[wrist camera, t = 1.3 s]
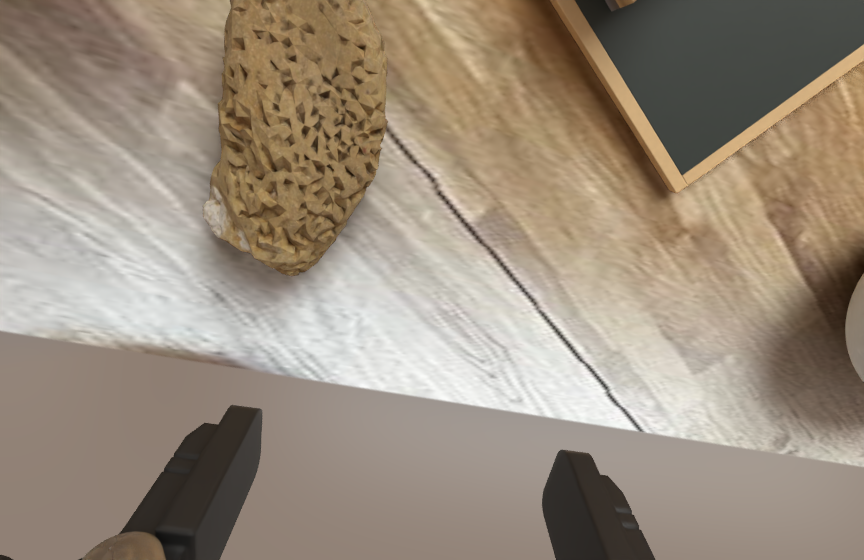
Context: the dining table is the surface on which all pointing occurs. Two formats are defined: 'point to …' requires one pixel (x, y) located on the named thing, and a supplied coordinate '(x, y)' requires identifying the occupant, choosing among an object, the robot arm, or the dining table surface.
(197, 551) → the robot arm
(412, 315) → the dining table surface
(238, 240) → the sponge
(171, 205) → the dining table surface
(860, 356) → the serving bowl
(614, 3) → the eraser
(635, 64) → the board
